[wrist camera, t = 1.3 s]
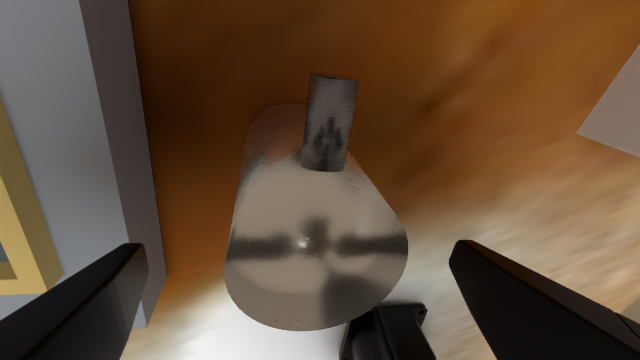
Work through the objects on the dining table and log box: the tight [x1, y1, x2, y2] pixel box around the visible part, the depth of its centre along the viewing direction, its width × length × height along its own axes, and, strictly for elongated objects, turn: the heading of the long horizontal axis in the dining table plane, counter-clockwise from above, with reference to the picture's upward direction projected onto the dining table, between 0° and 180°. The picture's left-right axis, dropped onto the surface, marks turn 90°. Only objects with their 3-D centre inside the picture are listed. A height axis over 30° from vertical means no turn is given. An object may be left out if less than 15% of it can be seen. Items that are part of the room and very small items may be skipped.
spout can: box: [224, 73, 408, 331], centre depth 11 cm, size 7×5×9 cm
